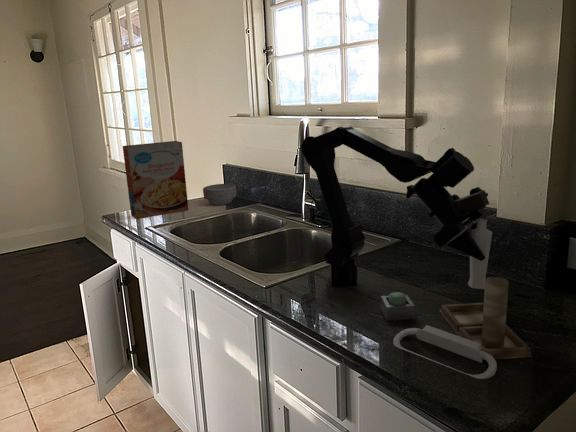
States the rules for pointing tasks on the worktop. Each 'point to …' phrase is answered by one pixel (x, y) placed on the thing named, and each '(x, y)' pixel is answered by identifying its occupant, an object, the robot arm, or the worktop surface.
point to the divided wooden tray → (470, 327)
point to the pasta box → (155, 178)
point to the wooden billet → (494, 312)
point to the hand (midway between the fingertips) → (486, 256)
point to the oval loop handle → (450, 346)
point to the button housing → (397, 309)
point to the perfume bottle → (483, 242)
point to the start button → (397, 298)
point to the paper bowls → (219, 193)
